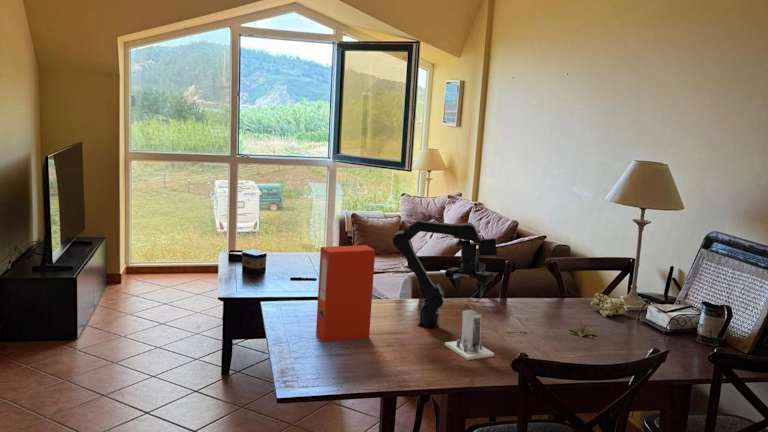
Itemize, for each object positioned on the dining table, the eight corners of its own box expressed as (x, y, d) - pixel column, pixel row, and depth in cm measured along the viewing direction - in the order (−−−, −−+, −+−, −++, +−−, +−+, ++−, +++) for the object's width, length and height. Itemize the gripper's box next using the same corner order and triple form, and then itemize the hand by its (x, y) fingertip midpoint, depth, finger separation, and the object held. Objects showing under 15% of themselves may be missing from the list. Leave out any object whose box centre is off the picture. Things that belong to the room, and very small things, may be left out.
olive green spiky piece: (563, 335, 255) (564, 323, 255) (569, 326, 266) (571, 315, 265) (595, 342, 250) (597, 330, 249) (600, 333, 261) (602, 322, 260)
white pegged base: (444, 345, 235) (445, 335, 234) (470, 341, 240) (471, 332, 239) (467, 359, 223) (468, 349, 222) (493, 356, 228) (494, 346, 227)
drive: (461, 346, 232) (462, 310, 231) (469, 344, 234) (471, 310, 233) (471, 350, 227) (472, 314, 226) (479, 349, 229) (481, 314, 227)
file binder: (369, 337, 237) (375, 250, 232) (324, 342, 229) (329, 252, 224) (360, 330, 244) (365, 244, 239) (315, 334, 236) (320, 246, 231)
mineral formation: (606, 319, 277) (580, 306, 290) (628, 321, 284) (602, 308, 297) (612, 301, 276) (586, 288, 289) (633, 303, 283) (607, 291, 295)
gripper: (501, 255, 249) (502, 295, 251) (460, 250, 261) (461, 288, 263) (486, 261, 240) (486, 303, 243) (443, 255, 252) (444, 295, 255)
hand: (469, 297), depth 251 cm, fingers open, 9 cm apart
